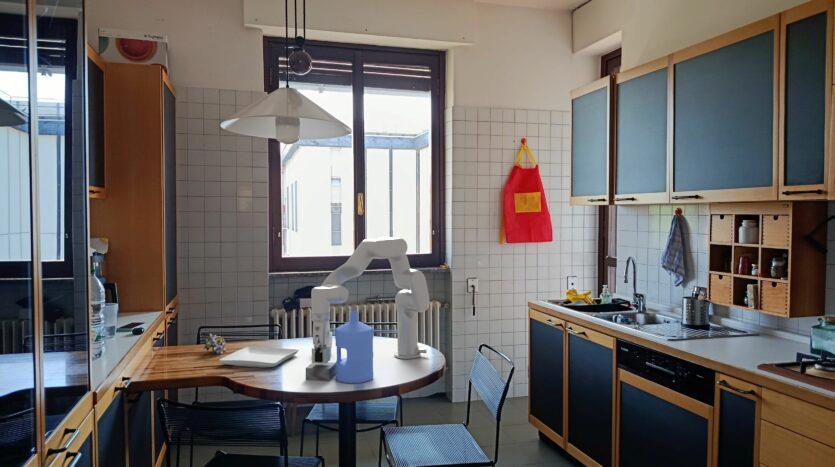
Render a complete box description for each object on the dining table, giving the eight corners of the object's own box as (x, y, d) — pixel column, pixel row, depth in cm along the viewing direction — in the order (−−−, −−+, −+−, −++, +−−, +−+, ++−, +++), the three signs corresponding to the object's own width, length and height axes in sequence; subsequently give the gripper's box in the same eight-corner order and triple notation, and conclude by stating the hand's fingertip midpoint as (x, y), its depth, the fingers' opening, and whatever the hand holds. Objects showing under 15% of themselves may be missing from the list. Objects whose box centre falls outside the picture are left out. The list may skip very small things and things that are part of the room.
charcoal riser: (336, 374, 250) (336, 362, 249) (329, 381, 240) (329, 368, 240) (313, 373, 251) (313, 361, 251) (305, 380, 241) (305, 368, 241)
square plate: (275, 371, 256) (275, 362, 256) (218, 367, 262) (217, 359, 262) (299, 356, 283) (299, 348, 283) (247, 353, 288) (247, 345, 288)
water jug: (374, 373, 251) (373, 308, 250) (372, 384, 236) (372, 314, 235) (337, 373, 251) (337, 308, 250) (333, 384, 235) (332, 314, 234)
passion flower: (220, 365, 285) (218, 348, 278) (199, 360, 286) (196, 344, 278) (230, 347, 294) (228, 331, 287) (209, 343, 295) (207, 327, 287)
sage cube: (330, 359, 248) (330, 345, 247) (325, 363, 242) (325, 349, 242) (316, 359, 249) (316, 345, 248) (311, 363, 243) (311, 348, 242)
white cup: (334, 351, 290) (334, 331, 290) (330, 355, 282) (330, 334, 282) (318, 351, 291) (318, 331, 290) (314, 355, 283) (314, 334, 283)
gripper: (323, 320, 235) (323, 365, 236) (335, 313, 252) (335, 355, 253) (305, 320, 236) (305, 364, 237) (318, 312, 253) (318, 354, 254)
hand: (321, 359), depth 245 cm, fingers closed on sage cube, 5 cm apart
